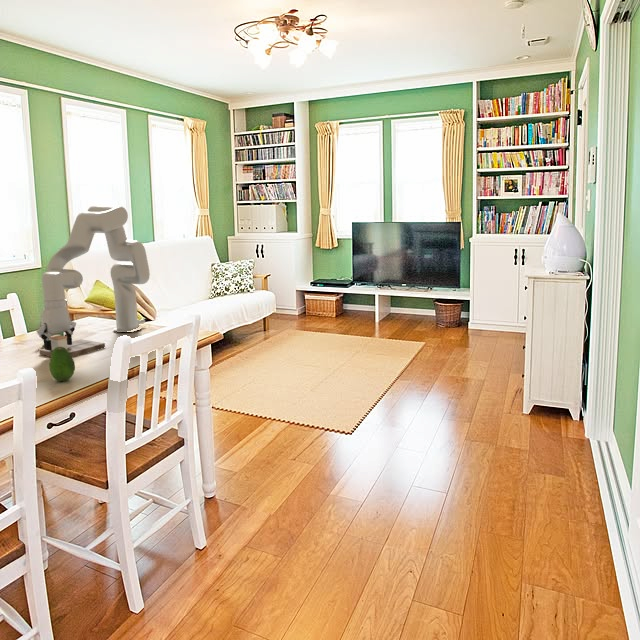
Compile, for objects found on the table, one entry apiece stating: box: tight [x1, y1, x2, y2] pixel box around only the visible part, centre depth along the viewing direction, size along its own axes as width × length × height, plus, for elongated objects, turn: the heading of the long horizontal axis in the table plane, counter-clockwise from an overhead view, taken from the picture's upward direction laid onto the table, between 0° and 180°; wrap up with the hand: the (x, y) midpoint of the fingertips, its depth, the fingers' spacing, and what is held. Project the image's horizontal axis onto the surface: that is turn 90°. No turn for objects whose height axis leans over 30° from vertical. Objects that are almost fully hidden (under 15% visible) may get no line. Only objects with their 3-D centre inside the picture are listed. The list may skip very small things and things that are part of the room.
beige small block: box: [49, 335, 68, 350], centre depth 228 cm, size 4×5×5 cm
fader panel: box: [38, 339, 106, 358], centre depth 235 cm, size 20×14×2 cm
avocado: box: [49, 347, 76, 382], centre depth 196 cm, size 8×8×12 cm
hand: (58, 347), depth 229 cm, fingers open, 9 cm apart
